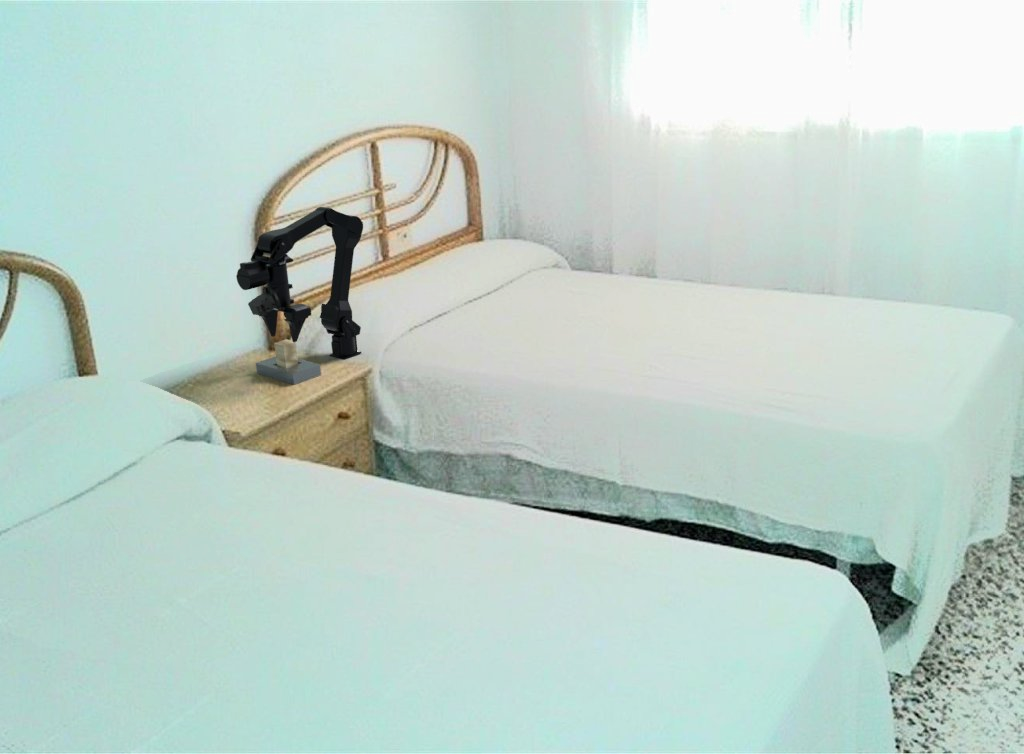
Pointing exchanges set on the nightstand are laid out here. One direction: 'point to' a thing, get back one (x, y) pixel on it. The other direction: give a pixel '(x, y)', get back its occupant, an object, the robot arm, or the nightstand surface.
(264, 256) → the robot arm
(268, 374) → the grey slotted block
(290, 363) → the ash peg
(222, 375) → the nightstand surface
